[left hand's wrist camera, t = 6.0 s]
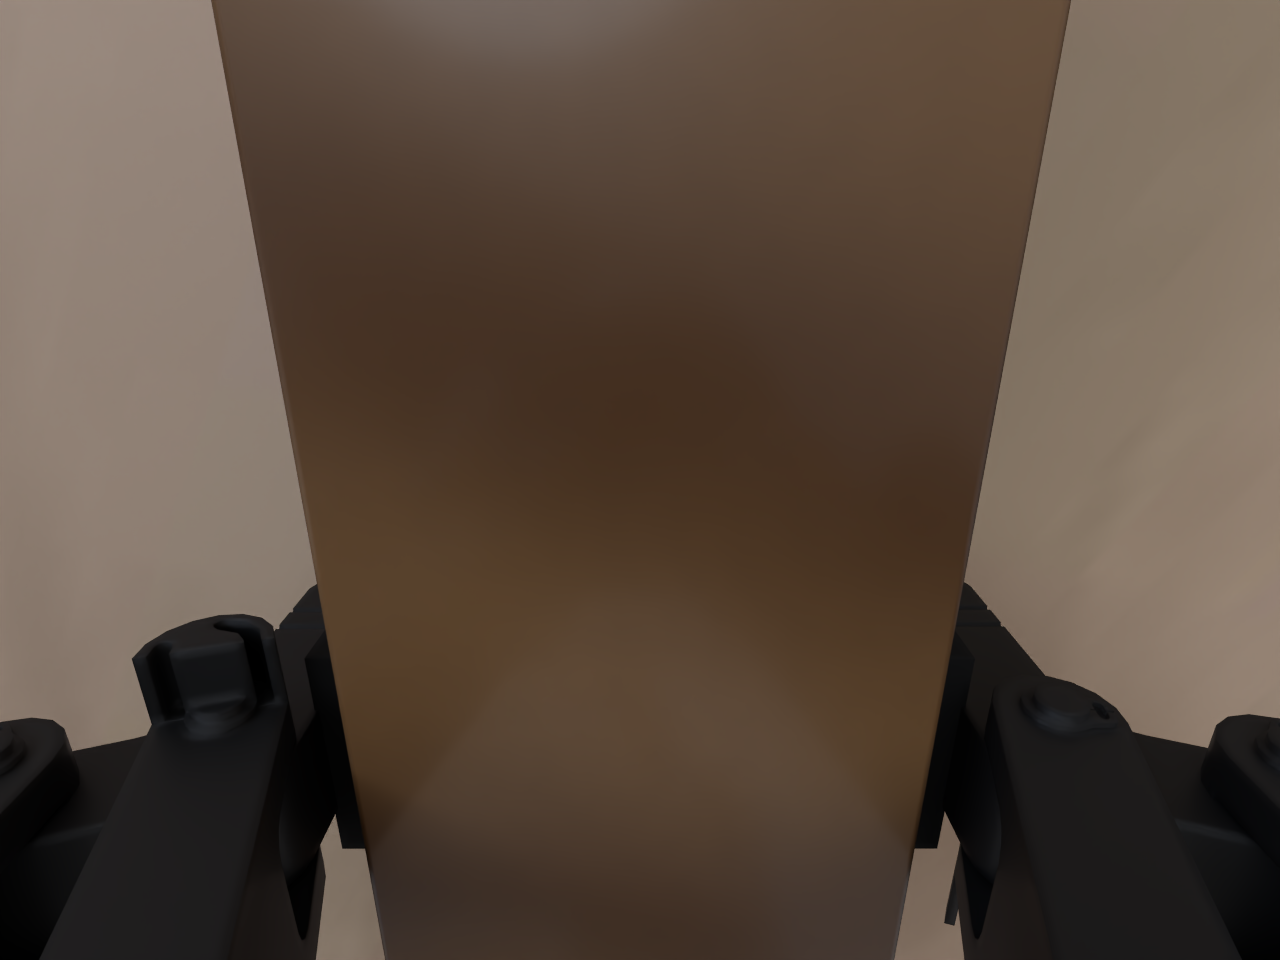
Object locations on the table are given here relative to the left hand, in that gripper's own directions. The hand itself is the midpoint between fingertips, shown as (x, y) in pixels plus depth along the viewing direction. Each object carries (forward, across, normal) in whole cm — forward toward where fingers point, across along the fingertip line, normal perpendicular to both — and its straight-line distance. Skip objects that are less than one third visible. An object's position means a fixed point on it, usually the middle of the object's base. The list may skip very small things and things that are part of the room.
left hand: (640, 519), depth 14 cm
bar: (+1, 0, -36) cm, 36 cm away
